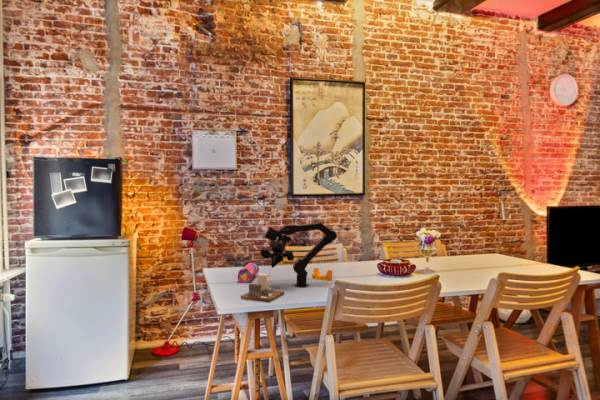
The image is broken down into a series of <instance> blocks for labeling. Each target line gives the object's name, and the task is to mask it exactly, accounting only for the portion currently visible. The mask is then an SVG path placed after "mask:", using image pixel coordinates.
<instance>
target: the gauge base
mask: <svg viewBox="0 0 600 400" xmlns="http://www.w3.org/2000/svg"><path fill="white" fill-rule="evenodd" d="M284 295H285V291H283V290H274V289H273V293H269V295H268V296H264V295H262V293H261V285H260V284H258V283H249V284H248V292H247V293H245V294H242V295H240V299H241V300H247V301H255V302H260V303H261V302H262V303H271V302H273V301H275V300H276V299H278V298H280V297H282V296H284Z"/></svg>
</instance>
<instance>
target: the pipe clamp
mask: <svg viewBox="0 0 600 400" xmlns="http://www.w3.org/2000/svg"><path fill="white" fill-rule="evenodd" d="M319 269H320V268H319V267H314V268H313V273H311V279H312V280H316V281H317V280H318V281H326V280H327V282H332V281H333V270H332V269H328V270H327V271H326V273H325V275H323V274H322V273H321V272H320V270H319Z"/></svg>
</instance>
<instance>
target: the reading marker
mask: <svg viewBox="0 0 600 400" xmlns="http://www.w3.org/2000/svg"><path fill="white" fill-rule="evenodd" d="M262 295H264V296H268V295H269V290H266V286H265V290H262Z"/></svg>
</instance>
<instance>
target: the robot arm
mask: <svg viewBox="0 0 600 400" xmlns="http://www.w3.org/2000/svg"><path fill="white" fill-rule="evenodd" d="M316 230H319V231H320V232H321V233H323V235H322V237H321V238H320V240H319V241H318V242H317V243H316V244H315V245H314V247H312V248H311V249H310V250H309V251H308V252H307V253H306V254H305V255H304V256H303V257H301V258H300V257H297V259H296V260H295V261H294V259H295V256H294V255H295V254H294V253H293V251H292V250H286V246H287V243H290V242H292V238H291V235H295V234H297V233H300V232H310V231H316ZM263 237H264V238H265V239H267V240H268V241H270V244H269V248H271V250H270V251H269V249H268V248H261V249H260V251H259V253H260V255H261V257H262V258H263V259H270V260H271V261H270V263H271V265H270V266H271V268H274V267H276V266H277V265H278V264H279V263H281V262H283V261H284V258H286V259H287V261H291V262H292V261H293V265H292V269H293V271H294V272H295V273H296V284H294V287H297V288H298V287H299V288H306V287H308V286H309V284H308V283H307V279H308V277H307V276H308V272H307V270H306V268H307V266H308V264H309V263H310V262H311V261H312V260H313V259H314V258H315V257H316V256H317V255H318V254H319V253H320V252H321V251H322V250H323V249H324V248H325V247H326V246H327V245H329V244H331V243H332V242H334V241H335V240H336V239H337V237H338V235H337V232H336V231H334V230H333V229H329V228H328V227H327V226H326V225H324V224H323V223H322V222H313V223H305V224H292V223H291V224H287V223H286V224H284V225H283V226H282V228H280V229H275V228H273V227H271V226H269V227H268V229H267V230H266V232H265V233H264V236H263Z"/></svg>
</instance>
